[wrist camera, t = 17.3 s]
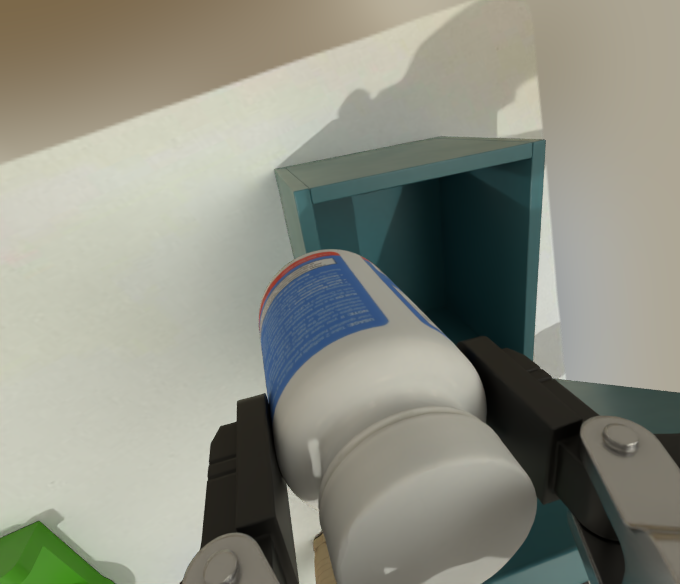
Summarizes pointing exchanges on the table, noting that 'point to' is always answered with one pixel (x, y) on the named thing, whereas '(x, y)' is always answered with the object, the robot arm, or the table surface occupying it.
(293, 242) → the teal lidded chest
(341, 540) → the pill bottle
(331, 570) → the handle
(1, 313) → the table surface
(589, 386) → the lid
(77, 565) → the tape dispenser
